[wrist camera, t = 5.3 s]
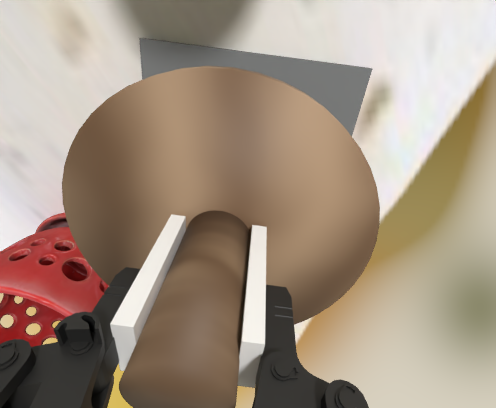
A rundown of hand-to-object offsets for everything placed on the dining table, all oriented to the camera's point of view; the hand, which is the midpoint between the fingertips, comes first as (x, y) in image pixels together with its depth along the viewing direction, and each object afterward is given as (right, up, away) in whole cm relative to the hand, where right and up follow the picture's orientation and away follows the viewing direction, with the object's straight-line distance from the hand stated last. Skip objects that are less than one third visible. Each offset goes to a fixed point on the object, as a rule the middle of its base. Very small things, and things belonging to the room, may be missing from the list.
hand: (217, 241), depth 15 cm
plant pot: (-16, -3, +18) cm, 25 cm away
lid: (0, +1, +1) cm, 1 cm away
